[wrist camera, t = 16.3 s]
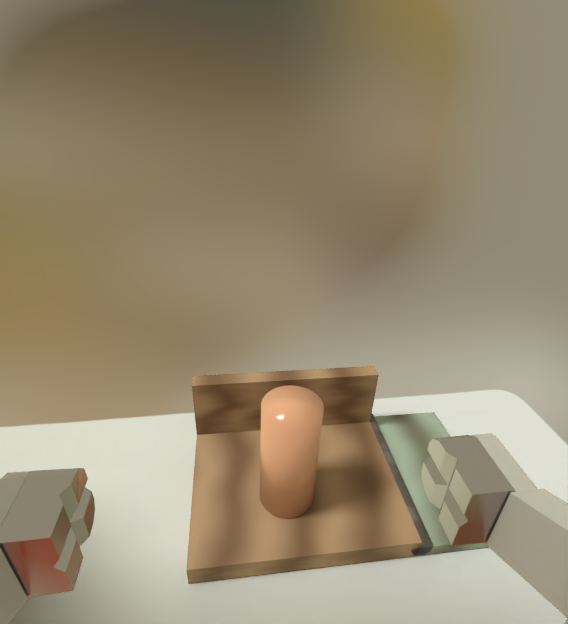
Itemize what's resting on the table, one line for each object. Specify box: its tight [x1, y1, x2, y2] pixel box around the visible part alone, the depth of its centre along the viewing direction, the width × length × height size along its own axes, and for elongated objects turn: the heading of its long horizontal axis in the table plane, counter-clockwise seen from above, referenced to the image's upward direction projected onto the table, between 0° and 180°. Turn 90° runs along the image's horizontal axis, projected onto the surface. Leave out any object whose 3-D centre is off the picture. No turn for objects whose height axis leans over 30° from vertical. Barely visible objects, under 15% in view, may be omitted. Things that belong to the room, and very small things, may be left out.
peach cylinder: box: [259, 385, 324, 519], centre depth 36 cm, size 5×5×11 cm
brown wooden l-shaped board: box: [187, 366, 488, 584], centre depth 40 cm, size 29×16×9 cm, turn 98°
